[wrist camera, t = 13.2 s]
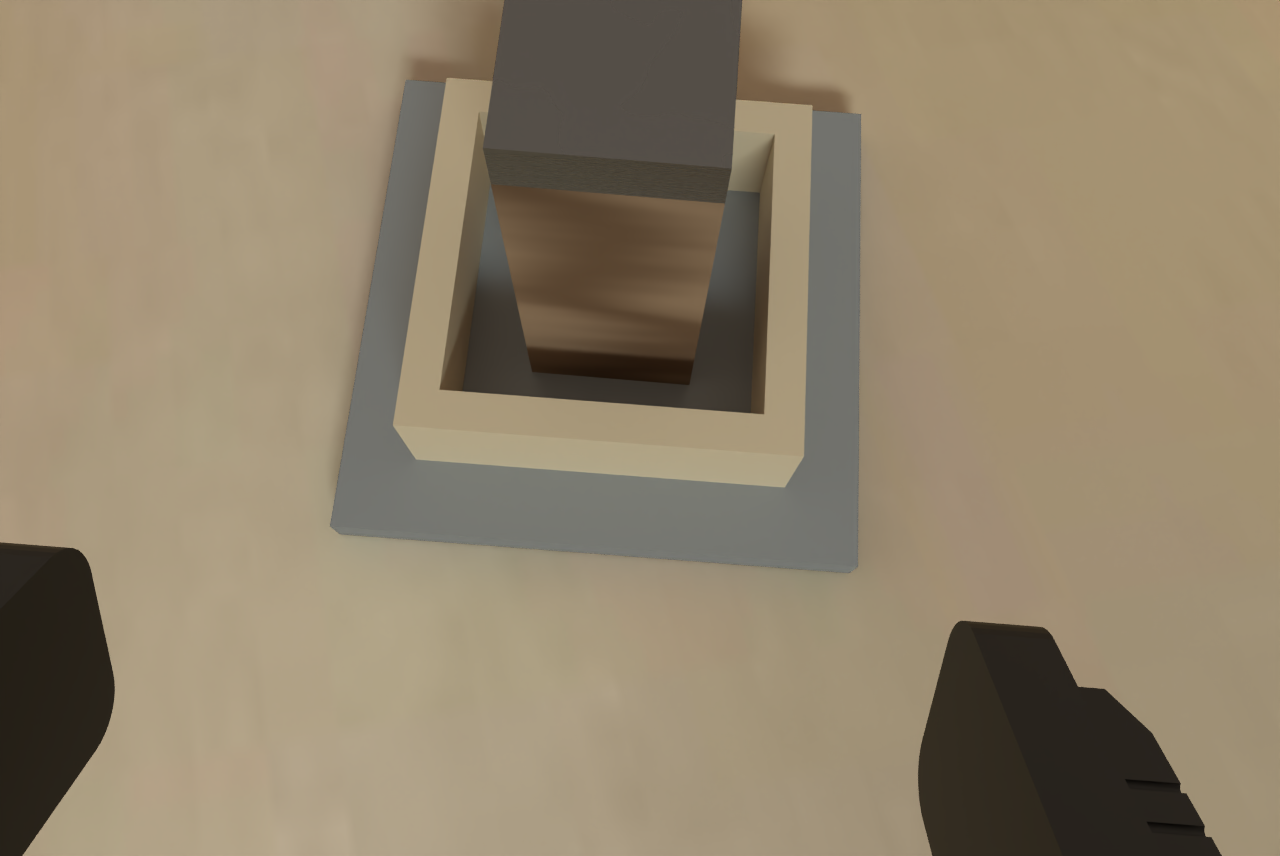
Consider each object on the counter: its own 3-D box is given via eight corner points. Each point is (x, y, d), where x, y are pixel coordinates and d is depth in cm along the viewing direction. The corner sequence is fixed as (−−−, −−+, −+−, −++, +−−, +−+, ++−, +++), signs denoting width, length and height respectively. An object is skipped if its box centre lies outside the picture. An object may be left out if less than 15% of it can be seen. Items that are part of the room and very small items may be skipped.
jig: (853, 133, 32) (885, 49, 28) (849, 573, 28) (886, 543, 24) (412, 99, 32) (384, 11, 28) (339, 533, 28) (295, 499, 24)
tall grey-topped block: (699, 244, 30) (744, -35, 19) (689, 384, 28) (731, 168, 18) (548, 231, 30) (512, -53, 19) (532, 372, 28) (483, 148, 18)
